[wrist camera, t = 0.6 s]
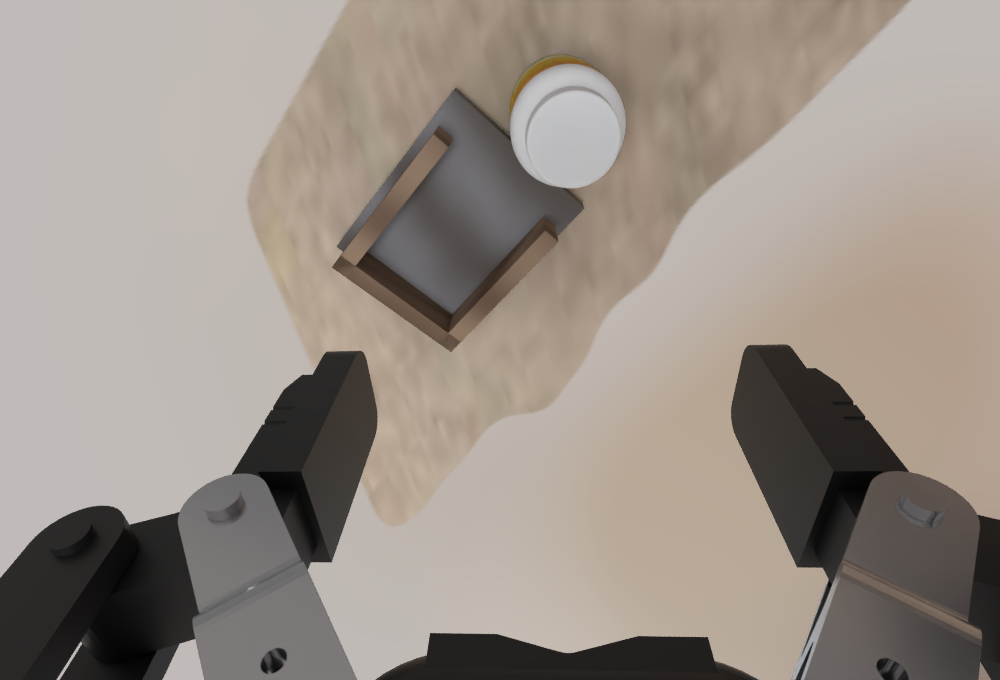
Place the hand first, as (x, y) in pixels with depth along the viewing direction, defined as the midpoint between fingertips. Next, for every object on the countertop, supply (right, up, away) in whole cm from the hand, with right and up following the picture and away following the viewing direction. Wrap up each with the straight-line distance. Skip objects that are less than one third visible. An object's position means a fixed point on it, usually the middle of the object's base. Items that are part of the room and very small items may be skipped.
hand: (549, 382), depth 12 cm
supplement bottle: (+2, +14, +20) cm, 24 cm away
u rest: (-4, +8, +23) cm, 25 cm away
